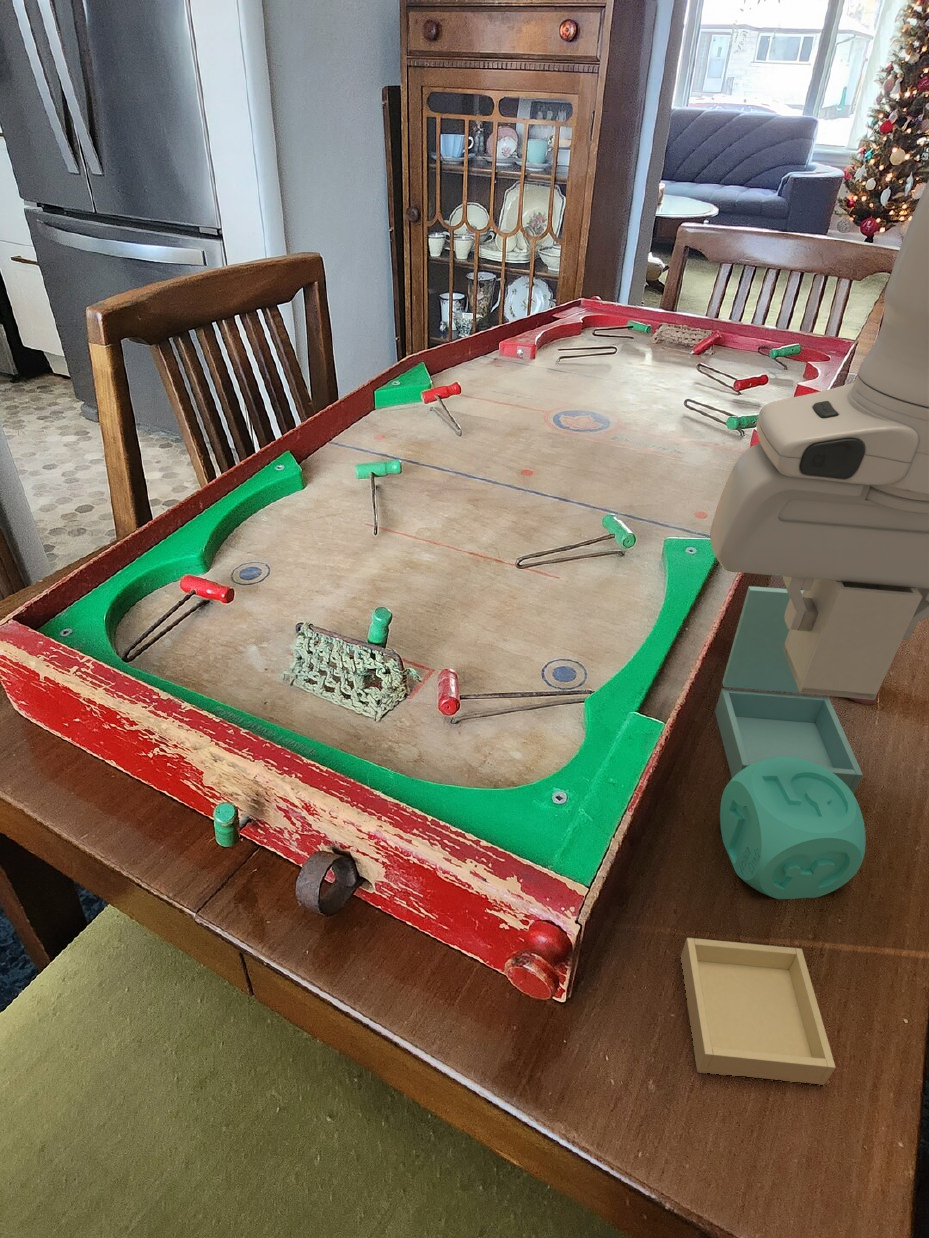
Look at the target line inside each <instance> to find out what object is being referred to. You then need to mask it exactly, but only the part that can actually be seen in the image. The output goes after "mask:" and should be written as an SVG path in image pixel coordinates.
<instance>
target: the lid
mask: <svg viewBox="0 0 929 1238" xmlns="http://www.w3.org/2000/svg"><path fill="white" fill-rule="evenodd" d="M803 591H804V590H801V593H802V594H803ZM789 599H790V597H789V595H788V592H787V589H786V588H780V587H765V586H751V585H749V586H748V588H747V590H746V594H745V598H744V602H743V606H742V609H741V613H740V616H739V619H738V624H737V626H736V631H735V635H734V638H733V640H732V641H733V642H732V645H731V649H730V653H729V656H728V659H727V664H726V667H725V670H724V674H723V678H722V681H721V684H722V688H723V687H724V688H730V689H743V690H755V691H768V692H781V693H793V694H801V693H800V692H799V689H798V687H797V684H796V682H795V679H794V676H793V674H792V671H791V668H790V666H789V663H788V661H787V658H786V655H785V653H784V650H783V647H784V644H785V641H786V639H787V636H788V633H789V629H788V627H787V625H786V622H785V611H786V608H787V605H788V602H789Z"/></svg>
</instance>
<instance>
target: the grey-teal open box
mask: <svg viewBox="0 0 929 1238" xmlns="http://www.w3.org/2000/svg"><path fill="white" fill-rule="evenodd" d="M714 714H715V718H716V721H717V725H718V729H719V733H720V737H721V741H722V745H723V749H724V753H725V757H726V761H727V764H728V769H729V773H730V777H731V779H732V778H733V777H734V776H735V775H736V774H737V773H739V772H740V771H741V770H743V769H744V768H746V767H747V766H749V765H751V764H753V763H756V762H758V761H761V760H764V759H768V758H774V757H794V758H800V759H804V760H808V761H811V762H814V763H816V764H818V765H820V766H822V767H824V768H826V769H828V770H829V771H831V772H832V773H834V774H835V775H836V776H838V777H839V778H840V779H841V780H842V781H843V782H844V783H845V784H846V785H847V786H848V787H849V789H850V790H851V791H852V793H853V794H854V795H855V793H856V791H857V789H858V787H859V784H860V783H861V781H862V778H863V776H864V774H863V772H862V770H861V767H860V765H859V762H858V761H857V760H858V759H857V758H856V756H855V753H854V751H853V749H852V747H851V744H850V742H849V739H848V738H847V734H846V733H845V730H844V728H843V726H842V723H841V722H840V719H839V716H838V714H837V712H836V709H835V708H834V705H833V703H832V701H831V699H830V696H826V695H814V694H801V693H789V692H776V691H763V690H751V689H738V688H725V687H724V688H723V687H722V688H721V689H720V694H719V696H718V699H717V702H716V707H715V711H714Z"/></svg>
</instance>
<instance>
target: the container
mask: <svg viewBox="0 0 929 1238" xmlns="http://www.w3.org/2000/svg"><path fill="white" fill-rule="evenodd" d="M802 596H803V597H806V598H812V600H813V602H814V606H815V607H816V609H817V611H818V616H817V618H816V621H815V622H814V623H813V625H814V626H813V629H812V630H811V631H797V630H789V633H788V636H787V639H786V641H785V644H784V647H783V650H784V653H785V655H786V658H787V661H788V663H789V666H790V668H791V671H792V674H793V676H794V679H795V682H796V684H797V687H798V689H799V692H800V693H799V694H805V695H816V696H826V697H838V698H839V697H840V698H847V699H850V698H859V699H869V700H875V697H876V698H877V695H878V693H879V691H880V689H881V687H882V684H883V683H884V680H885V678H886V676H887V674H888V672H889V670H890V667H891V666H892V663H893V661H894V658H895V657H896V655H897V652H898V651H899V648H900V645H901V644H902V641H903V640H902V639H903V637H904V635H905V633H906V631H907V629H908V627H909V624H910V622H911V620H912V618H913V616H914V614H915V612H916V609H917V607H918V605H919V603H920V601H921V599H922V596H921V594H920V593H919V591H918V590H917V588H912V587H901V586H890V585H878V584H867V583H855V582H844V581H832V580H821V579H814V581H813V584H812V587H811V589H810V590H804V591H803V594H802Z"/></svg>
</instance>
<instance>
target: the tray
mask: <svg viewBox="0 0 929 1238" xmlns="http://www.w3.org/2000/svg"><path fill="white" fill-rule="evenodd" d="M680 957H681V959H680V964H681V963H682V965H681V970H682V969H683V972H682V976H683V975H684V979H683V985H684V984H685V986H684V991H685V990H686V993H685V999H686V998H687V1000H686V1006H687V1013H688V1019H689V1025H690V1026H691V1027H690V1026H689V1027H690V1031H691V1032H692V1034H691V1039H692V1038H693V1041H692V1046H694V1047H693V1055H694V1061H695V1067H696V1072H697V1073H699V1074H707V1073H710V1074H709V1075H716V1074H719V1075H718V1076H726V1075H732V1076H731V1077H735V1076H747V1077H759V1078H769V1079H776V1080H777V1079H780V1080H786V1081H788V1080H791V1081H797V1082H798V1081H801V1082H811V1083H819V1084H823V1085H824V1084H825V1085H826V1083H827V1082H828V1080H829V1079H830V1077H831V1076H832V1074H833V1072H834V1071H835V1069H836V1063H835V1060H834V1057H833V1053H832V1050H831V1046H830V1043H829V1039H828V1036H827V1031H826V1028H825V1025H824V1022H823V1018H822V1015H821V1011H820V1008H819V1004H818V1000H817V998H816V997H817V996H816V994H815V993H816V992H815V989H814V986H813V983H812V980H811V975H810V972H809V968H808V966H807V965H808V964H807V961H806V959H805V955H804V951H803V948H798V947H790V946H789V947H788V946H777V945H767V944H757V943H749V942H747V943H746V942H739V941H738V942H737V941H726V940H715V939H714V940H713V939H705V938H694V937H686V939H685V942H684V945H683V948H682V952H681V953H680ZM691 1032H690V1033H691ZM825 1085H824V1086H825Z"/></svg>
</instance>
